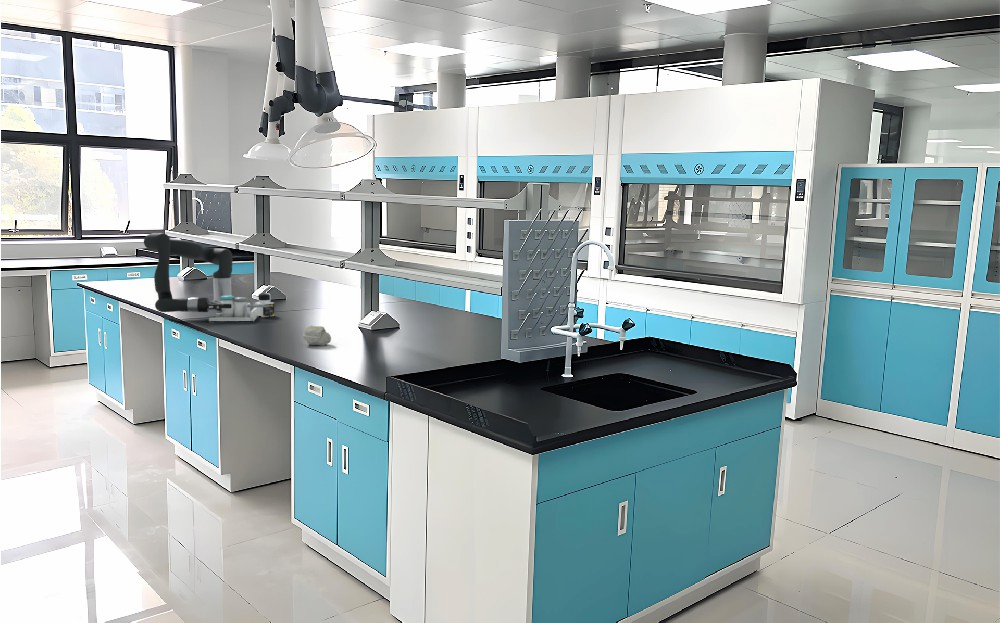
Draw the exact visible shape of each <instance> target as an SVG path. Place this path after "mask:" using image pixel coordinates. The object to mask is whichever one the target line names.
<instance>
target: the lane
mask: <svg viewBox="0 0 1000 623" xmlns="http://www.w3.org/2000/svg"><path fill="white" fill-rule="evenodd" d="M256 319H258V316H257V308H255V307H253V309H252V310H250V317H222V312H220V313H219V312H215V313H214V317H208V322H209V321H253V322H255V320H256Z"/></svg>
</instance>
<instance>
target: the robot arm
mask: <svg viewBox="0 0 1000 623" xmlns="http://www.w3.org/2000/svg"><path fill="white" fill-rule="evenodd" d="M143 245H144V248H146V249H147V250H148V251H151V252H156V253H157V255H158V262H157V265H156V268H155V272H154V277H153V279H154V280H153V281H154V288H155V293H157V298H158V299H157V300H156V301H155V304H154V305H155V306H154V307H155V309H156V311H157V312H161V313H173V312H184V313H186V312H189V313H208V312H209V311H210V310H222V309H224V308H232V305H231V304H224V305H223V303H222V304H221V296H227V295H230V296H232V272H233V253H232V251H231V250H230V249H228V248H218V247H206V246H204V245H202V244H201V243H198V242H195V241H192V240H187V239H178V238H175V239H174V238H170V236H169V235H168V234H167V233H165V232H153V233H149V234H147V235H146V236H145V237H144V239H143ZM171 255H174V256H176V257H180V258H184V259H190V260H196V261H198V260H199V261H204V262H207V263H210V264H213V265H216V266H218V269H217V271H214V272H213V273H212V280H213V285H212V286H213V300H211V301H210V299H209V298H208V297H178V298H173V295H172V292H171V280H170V258H171V257H170V256H171Z"/></svg>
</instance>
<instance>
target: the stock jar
mask: <svg viewBox="0 0 1000 623" xmlns="http://www.w3.org/2000/svg"><path fill="white" fill-rule="evenodd" d="M247 303H248V297H243V296H242V297H241V296H237V297H235V296H234V317H245V305H246V304H247Z"/></svg>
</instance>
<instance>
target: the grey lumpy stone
mask: <svg viewBox="0 0 1000 623" xmlns="http://www.w3.org/2000/svg"><path fill="white" fill-rule="evenodd" d="M302 339H303V340H304V341H305V342H306V343H307V344H308V345H309V346H319V347H320V346H321V347H323V346H326V345H329V344H331V342H332V336H331V334H330V332H328V331H327V330H326V329H325V327H324V326H318V325H317V326H315V325H310V326H307V327H305V328H304V329H303V333H302Z"/></svg>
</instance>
